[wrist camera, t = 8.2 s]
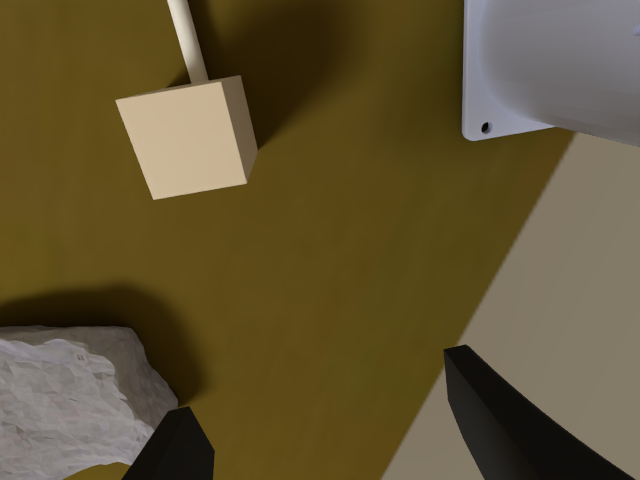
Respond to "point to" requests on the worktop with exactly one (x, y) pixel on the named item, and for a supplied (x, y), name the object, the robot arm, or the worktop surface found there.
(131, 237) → the worktop surface
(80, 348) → the stone block
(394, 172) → the worktop surface
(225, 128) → the multicoloured linked piece
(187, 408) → the robot arm
